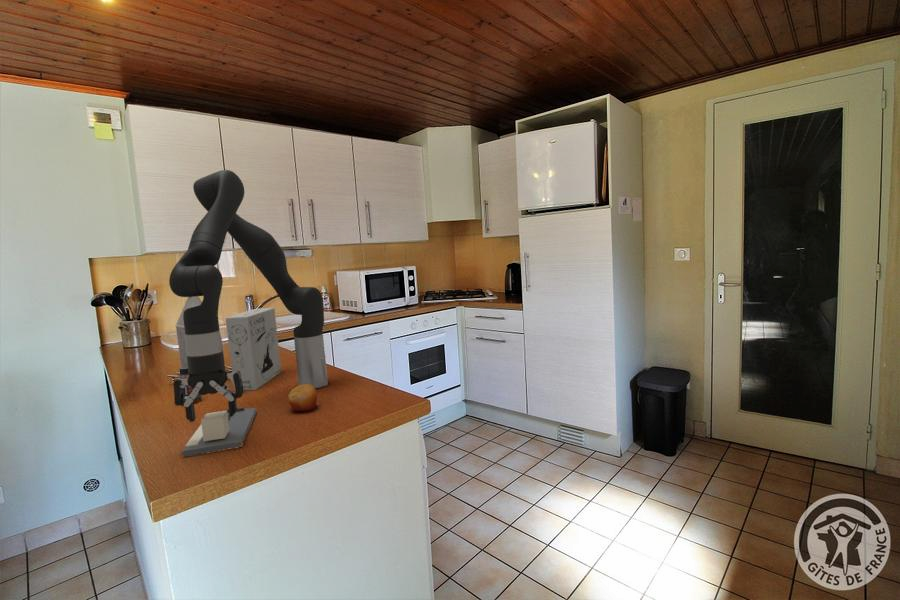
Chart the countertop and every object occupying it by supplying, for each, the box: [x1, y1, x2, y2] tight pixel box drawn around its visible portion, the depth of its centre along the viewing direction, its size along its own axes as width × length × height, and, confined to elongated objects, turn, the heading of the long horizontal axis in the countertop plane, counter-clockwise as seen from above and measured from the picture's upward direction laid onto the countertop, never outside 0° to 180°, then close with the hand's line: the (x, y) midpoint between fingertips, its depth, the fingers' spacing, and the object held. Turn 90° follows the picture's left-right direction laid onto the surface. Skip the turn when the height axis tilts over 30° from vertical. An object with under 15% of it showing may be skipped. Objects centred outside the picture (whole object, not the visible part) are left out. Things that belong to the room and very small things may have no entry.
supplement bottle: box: [176, 366, 202, 404], centre depth 138 cm, size 6×6×11 cm
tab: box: [200, 410, 229, 441], centre depth 105 cm, size 4×5×5 cm
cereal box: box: [225, 307, 282, 392], centre depth 156 cm, size 22×8×25 cm, turn 179°
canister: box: [175, 296, 203, 368], centre depth 158 cm, size 13×17×40 cm
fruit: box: [287, 384, 318, 412], centre depth 126 cm, size 8×8×8 cm
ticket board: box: [182, 406, 258, 458], centre depth 112 cm, size 12×24×2 cm, turn 16°
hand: (212, 418), depth 105 cm, fingers open, 8 cm apart
